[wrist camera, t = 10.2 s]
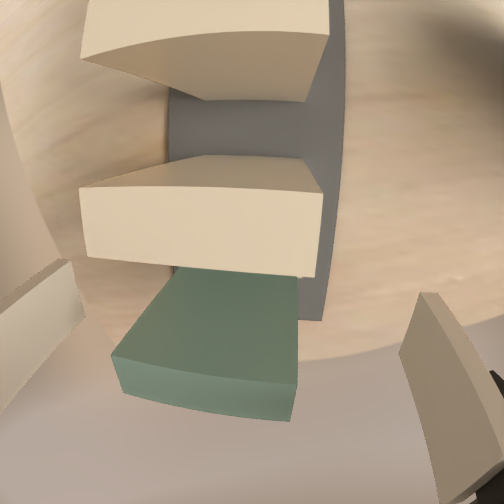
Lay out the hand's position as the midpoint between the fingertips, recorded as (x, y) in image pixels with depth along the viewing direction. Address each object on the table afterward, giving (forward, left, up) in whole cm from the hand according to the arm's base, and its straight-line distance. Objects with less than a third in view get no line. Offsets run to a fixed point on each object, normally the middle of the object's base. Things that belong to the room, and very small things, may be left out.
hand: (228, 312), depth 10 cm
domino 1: (-9, 0, -7) cm, 11 cm away
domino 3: (+1, 0, -7) cm, 7 cm away
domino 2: (-4, 0, -7) cm, 8 cm away
